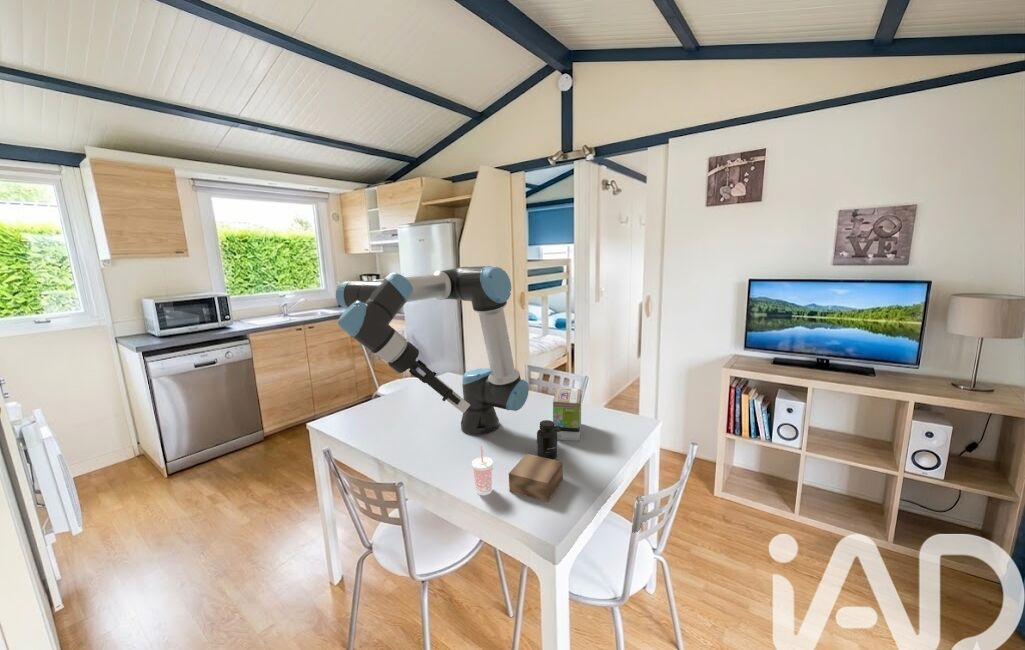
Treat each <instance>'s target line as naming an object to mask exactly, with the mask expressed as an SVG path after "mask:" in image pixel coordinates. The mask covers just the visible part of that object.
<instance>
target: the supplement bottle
mask: <svg viewBox="0 0 1025 650" xmlns="http://www.w3.org/2000/svg"><path fill="white" fill-rule="evenodd" d="M536 456H539V457H543V458H548V459H552V460H556V458H557V457H558V439H557V432H556V430H555V429H554V422H553V420H550V419H549V420H548V419H546V420H541V421H540V422H539V429H538V430H537V432H536Z"/></svg>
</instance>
